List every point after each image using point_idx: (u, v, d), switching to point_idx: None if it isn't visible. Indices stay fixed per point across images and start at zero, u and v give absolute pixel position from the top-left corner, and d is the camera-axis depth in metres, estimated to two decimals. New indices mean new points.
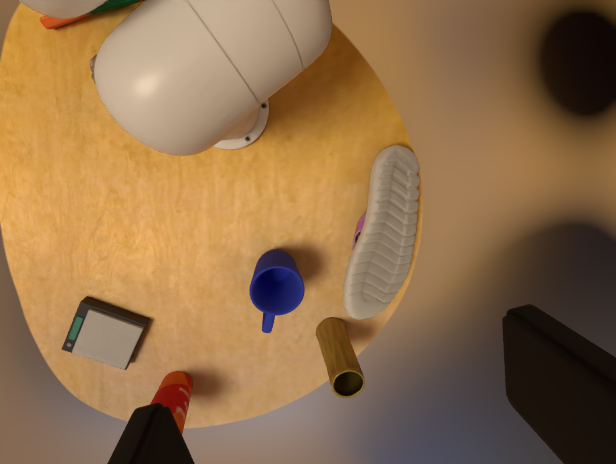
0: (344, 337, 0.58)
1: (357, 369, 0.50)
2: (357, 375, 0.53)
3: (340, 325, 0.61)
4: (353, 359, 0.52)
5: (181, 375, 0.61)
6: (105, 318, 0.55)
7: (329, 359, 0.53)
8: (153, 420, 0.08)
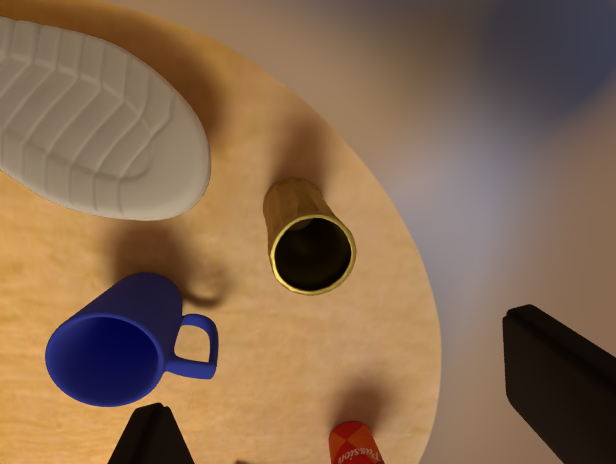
0: (271, 205, 0.27)
1: (281, 225, 0.19)
2: None
3: (270, 198, 0.30)
4: (276, 219, 0.21)
5: (332, 439, 0.40)
6: None
7: None
8: (153, 420, 0.08)
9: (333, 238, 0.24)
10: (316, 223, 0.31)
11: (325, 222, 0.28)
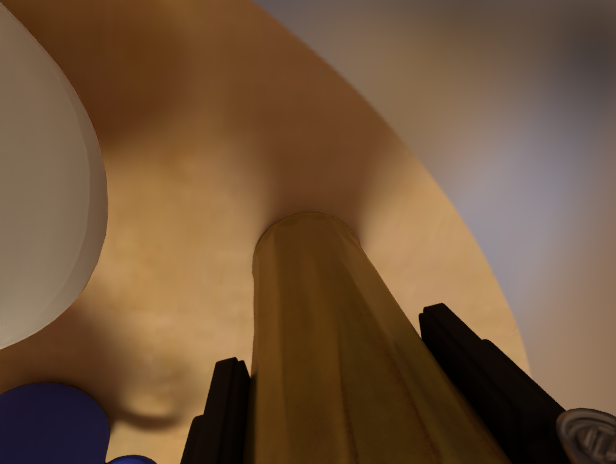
0: (264, 288, 0.12)
1: None
2: None
3: (264, 255, 0.16)
4: (269, 402, 0.07)
5: None
6: None
7: None
8: (235, 370, 0.09)
9: None
10: None
11: None
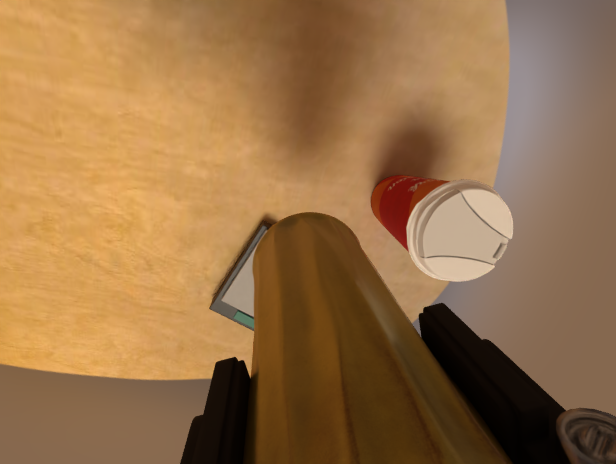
0: (264, 288, 0.12)
1: None
2: None
3: (264, 255, 0.16)
4: (270, 402, 0.07)
5: (377, 189, 0.34)
6: (238, 281, 0.34)
7: None
8: (235, 370, 0.09)
9: None
10: None
11: None
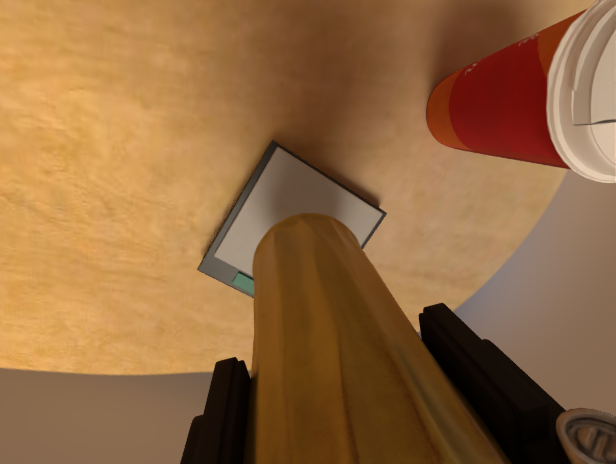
0: (264, 289, 0.12)
1: None
2: None
3: (264, 256, 0.16)
4: (270, 404, 0.07)
5: (438, 89, 0.23)
6: (238, 226, 0.23)
7: None
8: (235, 370, 0.09)
9: None
10: None
11: None
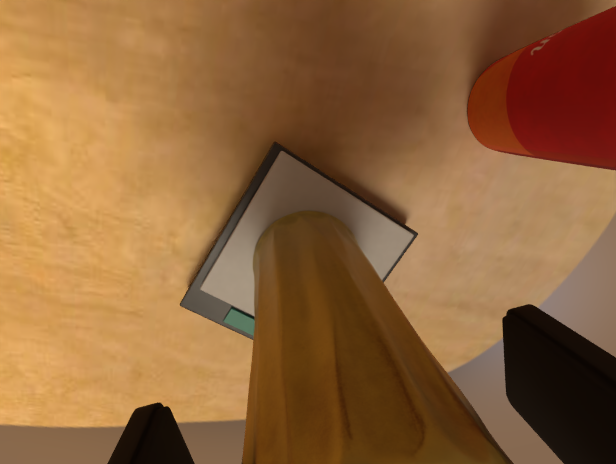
0: (264, 283, 0.13)
1: None
2: None
3: (264, 252, 0.16)
4: (269, 385, 0.07)
5: (485, 77, 0.18)
6: (231, 251, 0.18)
7: None
8: (153, 420, 0.08)
9: None
10: None
11: None
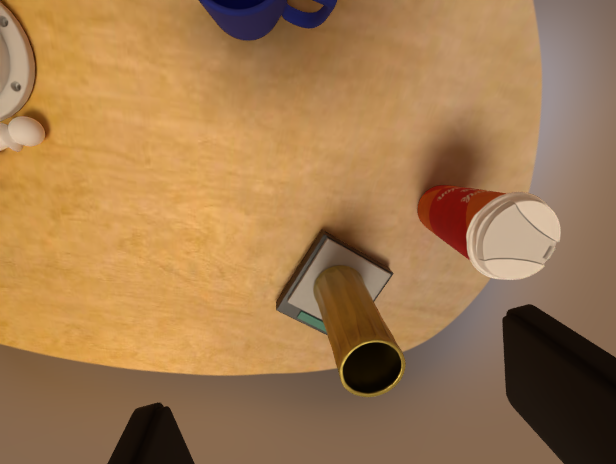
0: (326, 301, 0.33)
1: (347, 345, 0.25)
2: None
3: (321, 286, 0.36)
4: (339, 331, 0.27)
5: (424, 198, 0.38)
6: (303, 284, 0.38)
7: None
8: (153, 420, 0.08)
9: None
10: None
11: None
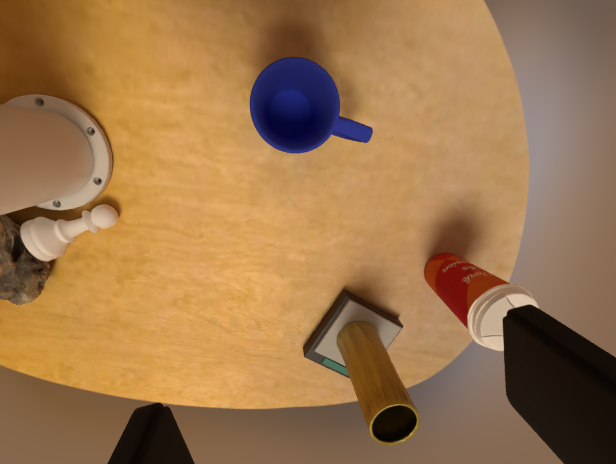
0: (352, 358, 0.40)
1: (375, 406, 0.32)
2: None
3: (345, 341, 0.43)
4: (367, 391, 0.34)
5: (430, 265, 0.46)
6: (328, 336, 0.45)
7: None
8: (153, 420, 0.08)
9: None
10: None
11: None
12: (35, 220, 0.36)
